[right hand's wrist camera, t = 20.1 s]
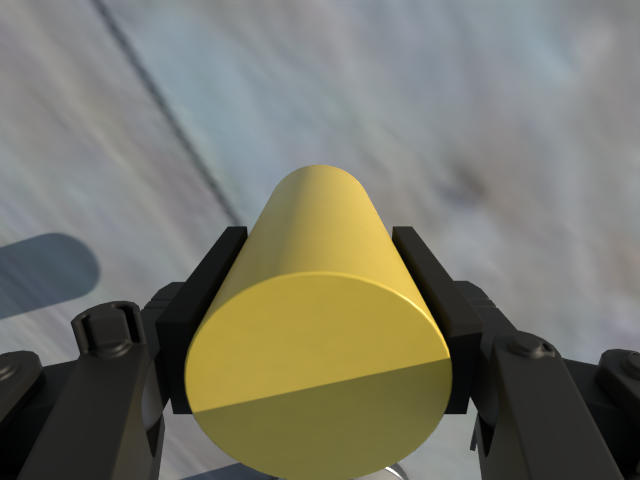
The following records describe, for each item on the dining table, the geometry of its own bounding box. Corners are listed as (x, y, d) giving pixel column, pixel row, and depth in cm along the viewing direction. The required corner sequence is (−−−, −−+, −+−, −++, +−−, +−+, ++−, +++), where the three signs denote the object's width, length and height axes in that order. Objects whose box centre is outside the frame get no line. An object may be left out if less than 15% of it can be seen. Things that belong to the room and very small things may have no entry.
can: (366, 157, 18) (455, 254, 6) (374, 257, 20) (452, 472, 8) (258, 172, 18) (146, 290, 7) (277, 269, 20) (218, 493, 9)
